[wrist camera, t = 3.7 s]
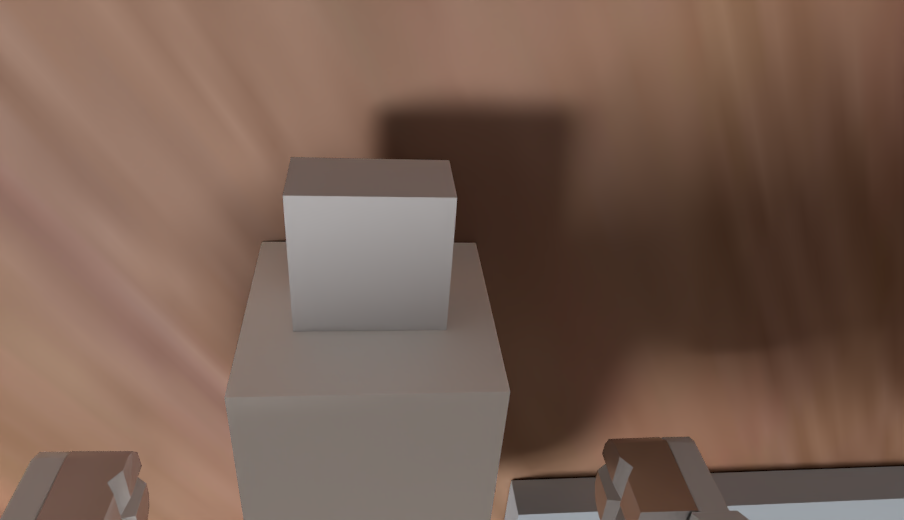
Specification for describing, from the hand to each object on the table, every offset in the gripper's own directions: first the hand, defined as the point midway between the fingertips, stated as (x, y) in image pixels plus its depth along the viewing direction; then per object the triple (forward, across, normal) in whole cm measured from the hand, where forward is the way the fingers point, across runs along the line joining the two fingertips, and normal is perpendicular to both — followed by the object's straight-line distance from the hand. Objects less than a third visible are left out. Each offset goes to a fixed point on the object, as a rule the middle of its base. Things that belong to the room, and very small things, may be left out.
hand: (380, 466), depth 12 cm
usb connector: (+3, 0, 0) cm, 3 cm away
